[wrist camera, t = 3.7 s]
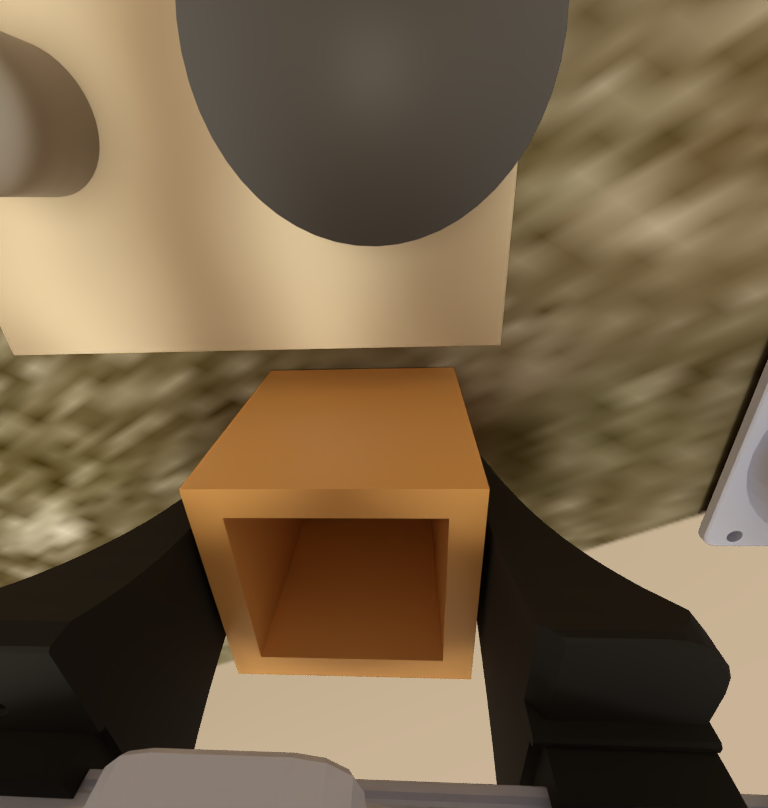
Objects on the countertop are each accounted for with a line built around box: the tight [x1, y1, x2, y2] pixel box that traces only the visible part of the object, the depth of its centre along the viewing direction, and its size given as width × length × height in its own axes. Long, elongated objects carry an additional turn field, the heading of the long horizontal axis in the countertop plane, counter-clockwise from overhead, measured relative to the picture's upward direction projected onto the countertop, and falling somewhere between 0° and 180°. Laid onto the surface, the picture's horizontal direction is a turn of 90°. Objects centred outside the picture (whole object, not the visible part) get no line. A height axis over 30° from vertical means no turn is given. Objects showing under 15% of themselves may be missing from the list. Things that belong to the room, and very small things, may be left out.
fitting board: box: [0, 0, 569, 355], centre depth 8 cm, size 14×11×5 cm
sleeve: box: [179, 367, 490, 679], centre depth 12 cm, size 6×6×6 cm
